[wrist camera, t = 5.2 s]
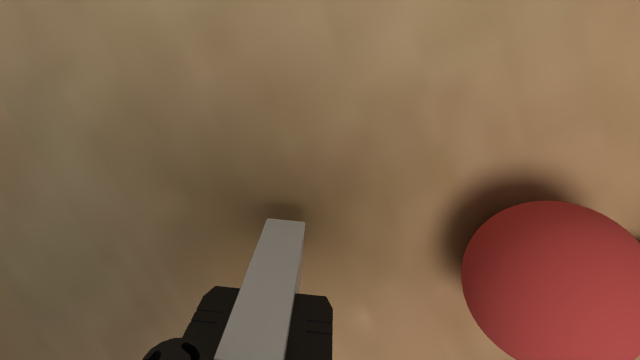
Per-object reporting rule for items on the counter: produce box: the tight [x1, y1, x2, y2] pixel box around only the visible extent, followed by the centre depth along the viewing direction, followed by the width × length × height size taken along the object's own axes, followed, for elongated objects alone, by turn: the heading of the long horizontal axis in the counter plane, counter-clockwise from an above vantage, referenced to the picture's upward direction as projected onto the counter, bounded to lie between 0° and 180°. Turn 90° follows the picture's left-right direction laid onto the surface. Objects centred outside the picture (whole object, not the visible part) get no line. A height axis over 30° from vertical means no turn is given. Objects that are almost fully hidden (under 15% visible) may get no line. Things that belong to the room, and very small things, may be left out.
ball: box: [461, 201, 640, 360], centre depth 13 cm, size 6×6×6 cm
